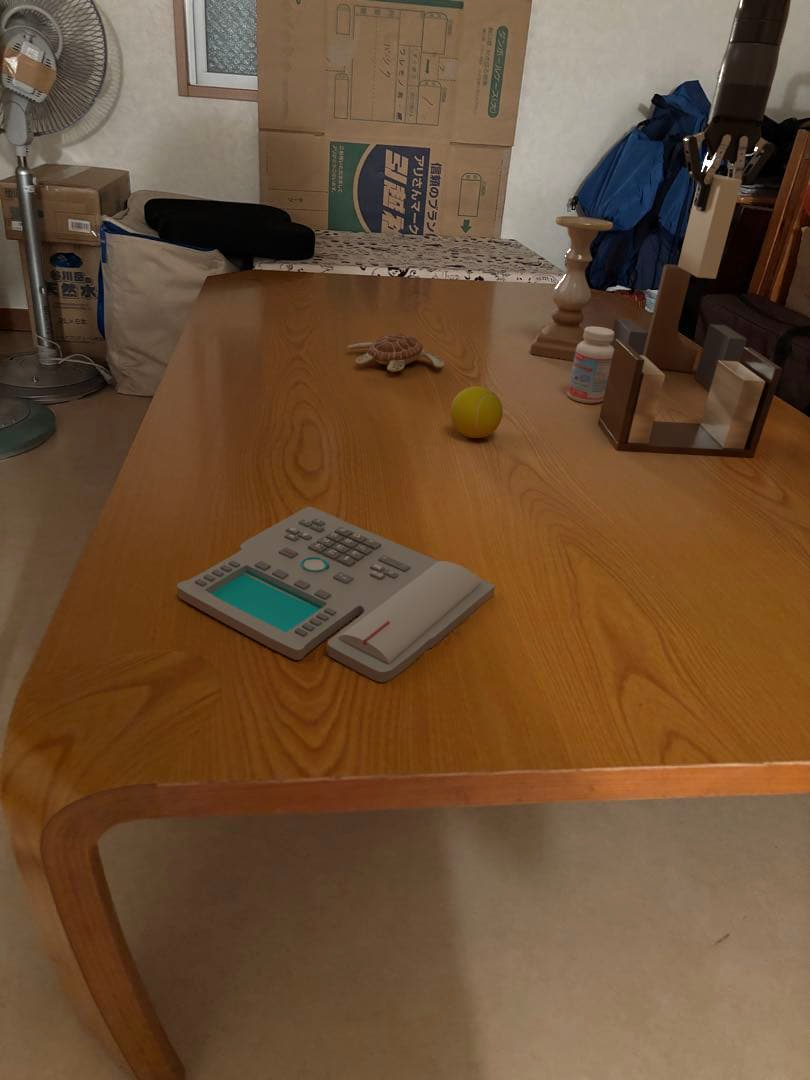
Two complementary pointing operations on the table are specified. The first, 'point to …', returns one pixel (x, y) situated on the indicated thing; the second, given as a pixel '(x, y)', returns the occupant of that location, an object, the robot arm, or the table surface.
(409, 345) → the decorative turtle
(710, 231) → the cream book
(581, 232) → the candle holder
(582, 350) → the pill bottle
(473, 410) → the tennis ball
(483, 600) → the office telephone
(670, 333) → the wooden block
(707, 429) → the book rack
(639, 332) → the grey books
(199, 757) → the table surface
